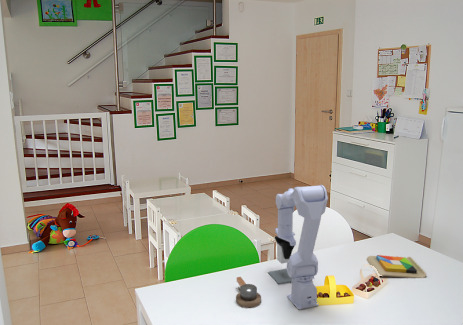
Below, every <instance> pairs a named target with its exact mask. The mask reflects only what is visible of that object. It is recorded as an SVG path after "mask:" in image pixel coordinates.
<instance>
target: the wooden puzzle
mask: <svg viewBox="0 0 463 325" xmlns="http://www.w3.org/2000/svg"><path fill="white" fill-rule="evenodd" d="M366 261H367V263H368V265H372V266H374V267H375V268H376V269H377V271H378V273H379V274H380V275H382V277H391V278H392V277H393V278H407V279H408V278H409V279H425V278H426V277H427V273H426V271H425V270H424V269H423V268H422V267H421V266H420V265H419V264H418V263H417V262H416V260H415V259H413V258H412V257H411V256H407V257H406V256H405V257H404V256H403V257H402V256H390V255H382V254H377V255H369V256H367V258H366Z"/></svg>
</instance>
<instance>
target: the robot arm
mask: <svg viewBox="0 0 463 325" xmlns="http://www.w3.org/2000/svg"><path fill="white" fill-rule="evenodd" d="M328 200H329V196H328V192H327V189H326V186H324V185H323V184H319V185H308V186H295V187H293V188H292V187H291V188H288V189H287V191H284V193H277V194H276V196H275V206H276V208H277V227H276V228H274V233H275V234H276V235H275V236H274V240H275V241H276V244H277V243H281V244H282V247H283V251H284V258H285V259H289V260H288V262H287V263H286V269H287V272H288V275H289V277H290V278H292V282H291V294H287V295H286V298H288V300H289V301H290V302H291V303H292V304H293V305H294V306H295V307H296V308H297V309H298V310H304V309H308V308H313V307H317V306H319V305H320V304H319V303H318V301H317V298H318V297H317V296H318V289H317V287H316V285H315V284H314V281H313V279H315V276H317V274H318V273H319V260H318V258H317V256H316V255H315V253H314V250H315V246H316V243H317V242H316V241H317V238H318V236H317V235H318V233H319V229H320V225H321V224H320V223H321V220H322V216H323V214H325V212H326V208H327V205H328ZM295 207H296V211H297V214H298V216H300V217H302V218H303V222H302V229H301V233H300V239H299V242H298V247H297V251H296V252H295V253H293V254H292V252H293V249H294V248H295V246H297V240H296V239H295V237H294V236H296V233H295V232H294V231H293V226H294V223H293V218H294V212H295ZM317 303H318V304H317Z"/></svg>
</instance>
